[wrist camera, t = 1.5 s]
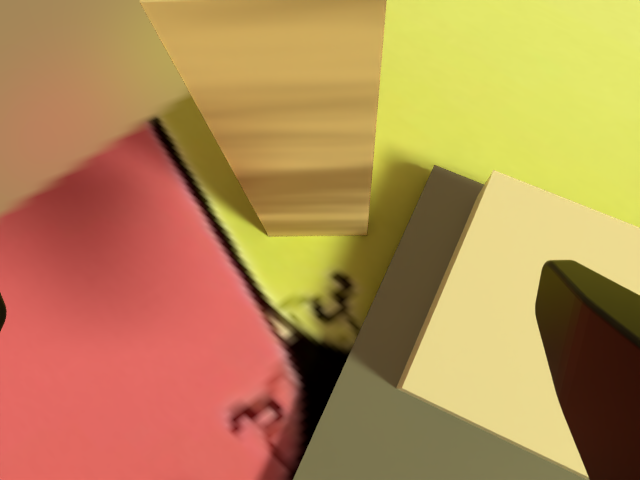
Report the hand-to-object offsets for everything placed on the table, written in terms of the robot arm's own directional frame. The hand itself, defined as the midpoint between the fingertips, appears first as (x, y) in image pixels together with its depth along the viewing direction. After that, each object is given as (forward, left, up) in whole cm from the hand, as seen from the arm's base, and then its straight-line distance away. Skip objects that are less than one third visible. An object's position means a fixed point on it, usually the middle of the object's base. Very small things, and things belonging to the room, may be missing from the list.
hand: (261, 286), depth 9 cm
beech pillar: (+6, +3, -13) cm, 14 cm away
